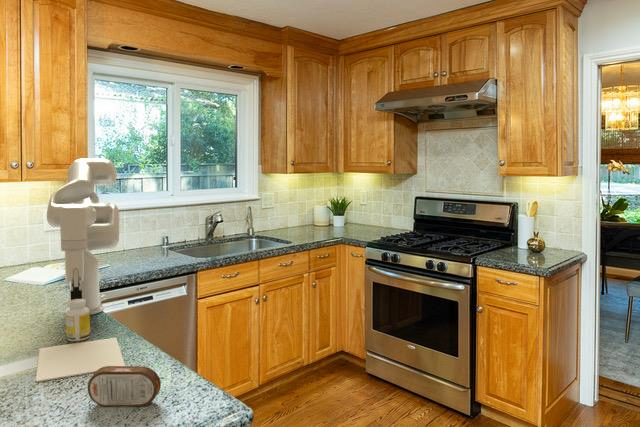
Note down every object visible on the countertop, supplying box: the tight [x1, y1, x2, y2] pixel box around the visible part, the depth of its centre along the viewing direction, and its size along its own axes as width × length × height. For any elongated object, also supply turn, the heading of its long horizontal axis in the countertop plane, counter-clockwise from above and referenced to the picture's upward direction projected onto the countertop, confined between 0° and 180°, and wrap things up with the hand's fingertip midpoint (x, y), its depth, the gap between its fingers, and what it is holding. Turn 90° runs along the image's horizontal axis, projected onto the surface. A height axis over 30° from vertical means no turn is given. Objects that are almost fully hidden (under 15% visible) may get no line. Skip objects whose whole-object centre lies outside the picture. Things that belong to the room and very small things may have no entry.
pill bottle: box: [64, 299, 91, 342], centre depth 147 cm, size 6×6×12 cm
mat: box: [35, 337, 126, 383], centre depth 132 cm, size 24×20×1 cm
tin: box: [87, 365, 162, 407], centre depth 105 cm, size 15×3×8 cm, turn 92°
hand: (76, 302), depth 154 cm, fingers closed
